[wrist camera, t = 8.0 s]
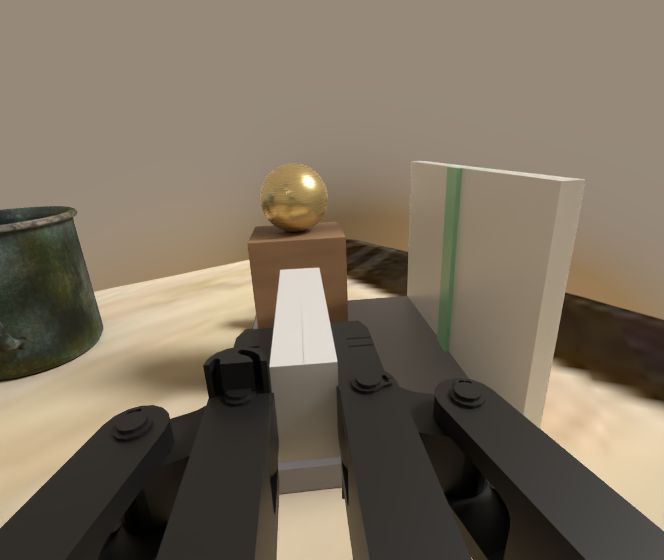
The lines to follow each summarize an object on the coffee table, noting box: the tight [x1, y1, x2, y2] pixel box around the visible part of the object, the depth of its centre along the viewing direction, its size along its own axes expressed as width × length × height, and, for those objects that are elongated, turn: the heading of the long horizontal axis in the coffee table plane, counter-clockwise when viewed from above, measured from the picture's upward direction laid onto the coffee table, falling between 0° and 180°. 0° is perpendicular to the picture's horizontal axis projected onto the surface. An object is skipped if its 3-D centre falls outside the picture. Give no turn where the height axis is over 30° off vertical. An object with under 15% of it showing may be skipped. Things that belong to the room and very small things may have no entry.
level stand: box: [253, 161, 586, 494], centre depth 26 cm, size 20×16×14 cm
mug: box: [0, 206, 103, 380], centre depth 30 cm, size 11×15×12 cm
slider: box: [248, 163, 348, 329], centre depth 26 cm, size 5×6×13 cm
